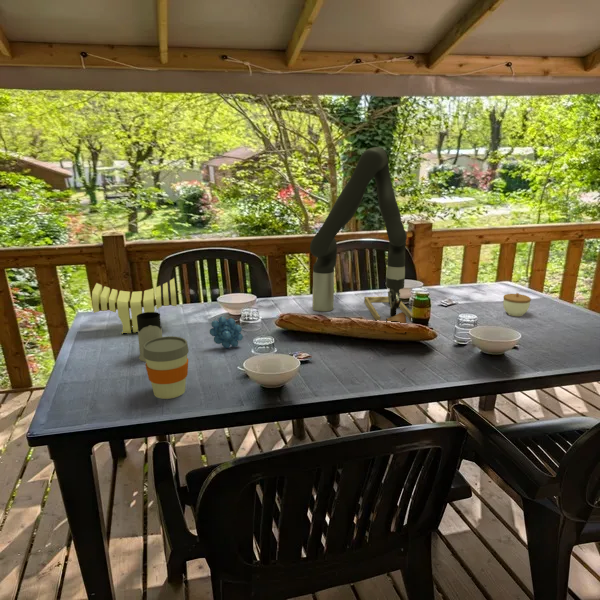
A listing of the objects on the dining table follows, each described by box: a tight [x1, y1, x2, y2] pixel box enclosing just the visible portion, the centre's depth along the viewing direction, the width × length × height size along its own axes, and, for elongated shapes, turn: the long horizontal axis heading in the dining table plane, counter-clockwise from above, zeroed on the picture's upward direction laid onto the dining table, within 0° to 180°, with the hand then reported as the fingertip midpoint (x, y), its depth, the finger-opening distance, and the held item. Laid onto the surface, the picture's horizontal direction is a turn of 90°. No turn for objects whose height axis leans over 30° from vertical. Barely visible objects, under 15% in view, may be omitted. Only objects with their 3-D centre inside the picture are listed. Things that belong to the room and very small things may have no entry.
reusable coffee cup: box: [143, 335, 190, 400], centre depth 142 cm, size 13×13×15 cm
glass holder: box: [137, 311, 163, 363], centre depth 169 cm, size 9×14×15 cm, turn 22°
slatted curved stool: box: [91, 277, 178, 335], centre depth 194 cm, size 30×16×18 cm, turn 105°
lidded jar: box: [502, 292, 532, 317], centre depth 211 cm, size 11×11×9 cm
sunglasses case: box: [385, 311, 407, 324], centre depth 198 cm, size 18×7×7 cm
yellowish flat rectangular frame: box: [363, 295, 413, 322], centre depth 217 cm, size 15×29×2 cm, turn 3°
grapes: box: [209, 316, 244, 349], centre depth 174 cm, size 12×7×12 cm, turn 100°
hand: (393, 316), depth 207 cm, fingers closed
